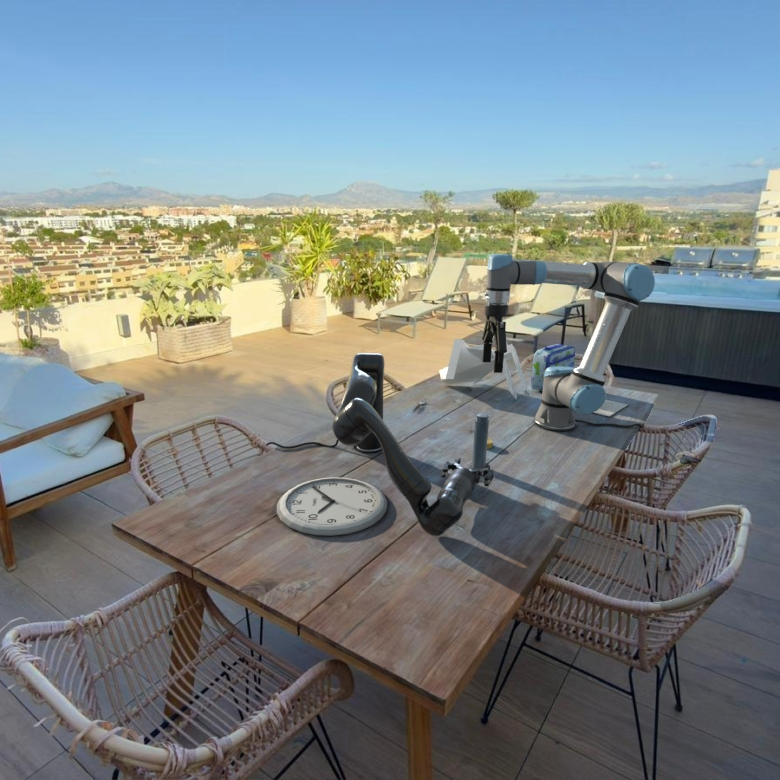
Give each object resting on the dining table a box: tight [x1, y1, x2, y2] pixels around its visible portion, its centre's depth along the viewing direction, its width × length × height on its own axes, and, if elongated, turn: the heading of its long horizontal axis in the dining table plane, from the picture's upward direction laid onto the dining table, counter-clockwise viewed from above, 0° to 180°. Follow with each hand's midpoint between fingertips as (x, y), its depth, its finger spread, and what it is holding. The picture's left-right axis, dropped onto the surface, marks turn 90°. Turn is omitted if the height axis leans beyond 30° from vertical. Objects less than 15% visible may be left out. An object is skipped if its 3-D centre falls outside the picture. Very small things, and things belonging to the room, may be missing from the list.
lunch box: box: [530, 343, 576, 392], centre depth 248 cm, size 26×11×21 cm, turn 134°
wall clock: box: [276, 476, 388, 537], centre depth 142 cm, size 30×2×30 cm
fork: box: [413, 396, 428, 412], centre depth 222 cm, size 3×16×2 cm, turn 160°
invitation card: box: [592, 399, 629, 418], centre depth 226 cm, size 21×1×15 cm
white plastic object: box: [438, 338, 531, 400], centre depth 245 cm, size 37×45×31 cm
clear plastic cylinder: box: [471, 413, 490, 469], centre depth 164 cm, size 4×4×18 cm
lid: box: [487, 438, 494, 450], centre depth 183 cm, size 5×5×2 cm
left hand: (473, 463), depth 157 cm, fingers open, 8 cm apart
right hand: (492, 367), depth 175 cm, fingers open, 13 cm apart
